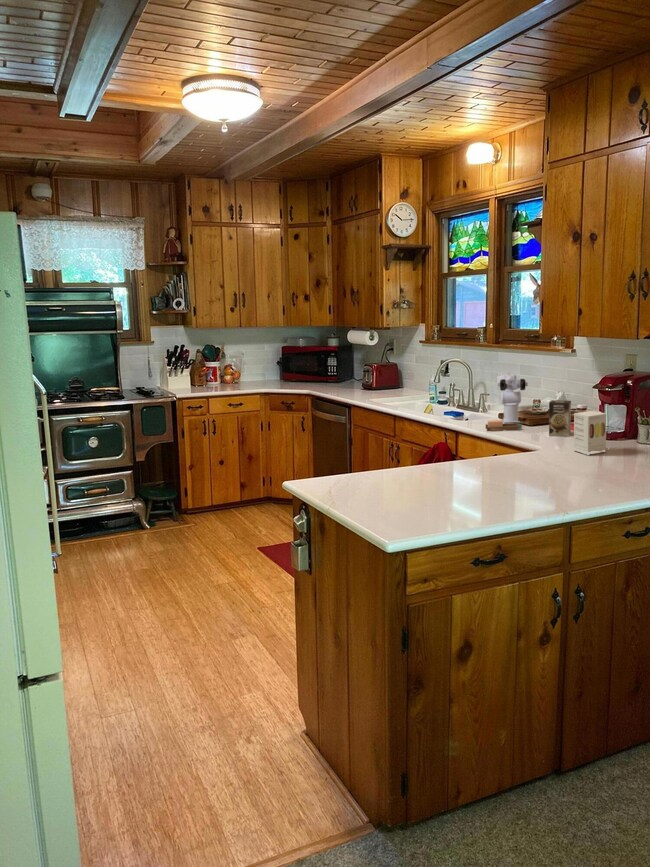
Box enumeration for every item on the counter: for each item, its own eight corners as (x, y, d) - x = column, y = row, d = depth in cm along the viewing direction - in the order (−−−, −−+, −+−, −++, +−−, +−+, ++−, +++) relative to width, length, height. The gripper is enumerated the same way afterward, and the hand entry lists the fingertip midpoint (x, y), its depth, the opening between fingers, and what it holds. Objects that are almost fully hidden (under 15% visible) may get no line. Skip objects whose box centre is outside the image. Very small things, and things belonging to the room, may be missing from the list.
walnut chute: (485, 428, 355) (485, 423, 354) (519, 426, 352) (519, 421, 352) (487, 431, 347) (486, 426, 347) (521, 430, 345) (521, 424, 344)
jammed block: (487, 429, 353) (487, 420, 352) (502, 428, 352) (501, 419, 351) (488, 431, 349) (488, 422, 348) (502, 430, 348) (502, 421, 347)
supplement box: (587, 456, 289) (587, 416, 286) (573, 451, 298) (573, 413, 294) (606, 452, 292) (607, 413, 289) (591, 448, 301) (591, 410, 297)
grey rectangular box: (548, 436, 328) (548, 402, 325) (551, 433, 334) (550, 399, 330) (569, 436, 324) (568, 402, 320) (571, 433, 329) (571, 400, 326)
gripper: (496, 375, 357) (498, 378, 344) (526, 374, 354) (529, 378, 341) (496, 389, 358) (498, 392, 345) (526, 388, 356) (529, 392, 342)
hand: (514, 386), depth 343 cm, fingers open, 7 cm apart
